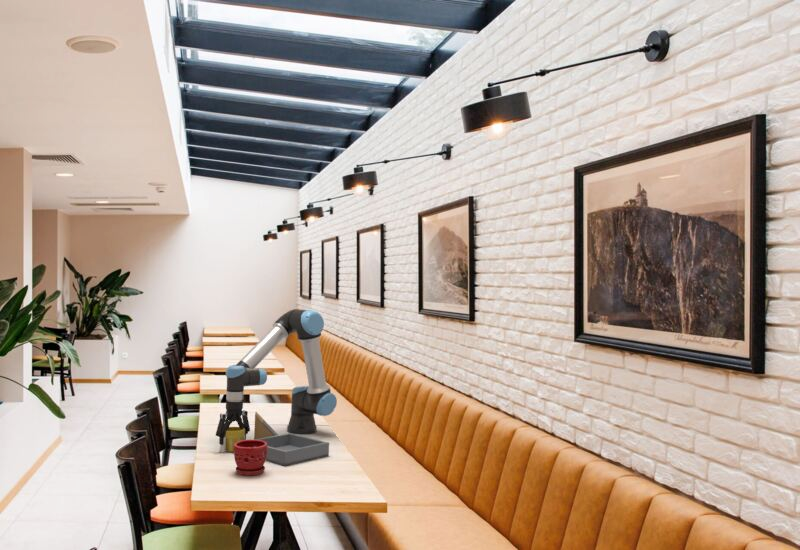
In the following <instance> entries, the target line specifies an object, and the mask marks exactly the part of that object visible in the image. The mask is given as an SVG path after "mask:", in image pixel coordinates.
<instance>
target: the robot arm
mask: <svg viewBox="0 0 800 550" xmlns="http://www.w3.org/2000/svg"><path fill="white" fill-rule="evenodd" d="M323 318H324V317H323V316H322V315H321V314H320V313H319V312H318V311H315V310H312V309H299V308H298V309H295V308H294V309H290V310H288V311H287V312H285V313H283V314H282V315H281V316H280V317H278V318H277V320H276V321H274V323H272V328H271V329H269V331H267V332H266V333H265V335H264V336H262V338H261V339H260V340H259V341H258V342H256V343H255V345H254V346H253V347H252V348H251V349H250V350H249V351H248V352H247V353H246V354H245V355H244V356H243V357H242V358H241V359H240V360H239V361H238V362H237V363H236V364H232V365H229V366H228V367H227V368H226V370H225V376H226V391H225V392H226V394H225V395H226V397H225V399H226V400H225V409H226V410H225V411H226V412H225V413H220V414H219V421H218V424H217V428H216V432H215V437H219V438H218V439H219V448H220V449H219V451H220V452H221V453H226V451H225V446H226V437H224V436H225V434H226V431H227V430H228V428H229V427H231V425H232V423H233V422H236V424H237V425H238V427H239V428H241V429H243V428H245V436H244V437H243V440H247V435H248V433H250V432H251V428H250V422H249V418H248V411H247V410H243V408H244V401H243V400H244V392H245V391H244V388H245V387H250V386H251V387H253V386H262V385H264V384H266V382H267V380H268V374H267V371H266V370H265V369H264V368H256V367H257V366H258V365H259V364H260V363H261V362H262V361H263V360H264V359H265V358H266V357H267V356H268V355H269V354H270V353H271V352H272V351H273V349H275V348H276V347H277V346H278V344H279V343H281V341H282V340H283V339H285V338H286V339H287V338H288V337H289V336H290V335H291V334H293V333H295V334H296V335H297V340H298V341H300V342H301V346H302V351H303V352H302V353H303V359H304V365H305V370H306V375H307V380H308V385H304V386H303V385H300V386H295V387H293V388H292V389H291V390H292V391H291V406H290V408H291V410H290V411H291V412H290V413H291V414H290V417H289V420H288V424H287V426H286V431H287V432H288V433H291V434H295V435H305V434H306V435H307V434H308V435H309V434H314V433H317V425H316V421H315V417H314V416H315V415H318V416H323V417H327V416H329V415H331V414H332V413H333V412H334V411H335V409H336V407H337V402H338V399H337V397H336V395H335V394H334V393H332V392H331V387H330V385H328V383H327V381H326V375H325V369H324V363H323V357H322V351H321V344H320V341H319V340H320V337H321V336H322V332H323V330H324V327H325V321H324V319H323ZM243 440H242V441H243Z"/></svg>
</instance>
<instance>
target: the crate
mask: <svg viewBox="0 0 800 550" xmlns="http://www.w3.org/2000/svg"><path fill="white" fill-rule="evenodd" d="M255 440H261V441H265V442H266V443H267V456H266V461H265V462H268V461H269V463H271V462H272V464H274V465H275V464H276V465H278V466H283V467H289V466H291V465H297V464H300V463H304V462H309V461H315V460H318V458H319V459H323V458H327V457H329V455H330V453H329V452H330V442H328V441H325V440H324V441H323V440H320V439H316V438H311V437H307V436H303V435H300V434H296V433H290V432H288V433H287V432H286V433H283V434H278V435H276V436H271V437H266V438H260V439H255ZM254 447H256V446H254ZM248 448H250V447H248ZM263 456H264V452H263ZM322 457H323V458H322Z"/></svg>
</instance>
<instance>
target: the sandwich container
mask: <svg viewBox="0 0 800 550" xmlns="http://www.w3.org/2000/svg"><path fill="white" fill-rule="evenodd" d="M254 412H255V415H254V430H253V431H254V433H253V436H254V437H253V440H255V439H260V438H266V437H271V436H276V435H279V434H278V432H276V431H275V429H274V428H272V427H271V425H269V423H268V422H266V420H265V419H264V418H263V417H262V416H261V415H260V414H259V413H258V412H257V411H254Z"/></svg>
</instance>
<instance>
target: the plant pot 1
mask: <svg viewBox="0 0 800 550" xmlns="http://www.w3.org/2000/svg"><path fill="white" fill-rule="evenodd" d="M244 436H245V428H243V429H241V428H239V426H229V428H228V430H227V431H226V434H225V436H224V437H226V446H225V452H227V453H228V452H229V453H234V444H235V443H236V442H239V441H242V440H243V437H244Z"/></svg>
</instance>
